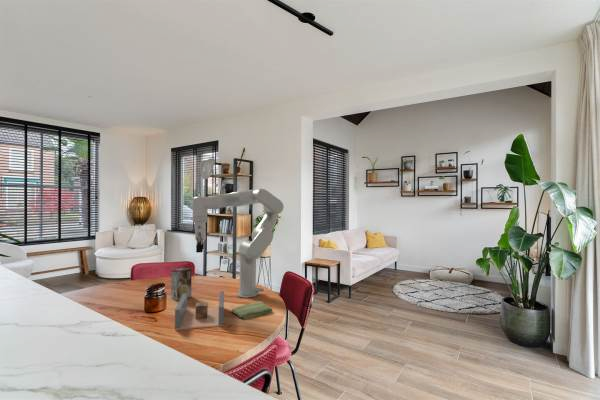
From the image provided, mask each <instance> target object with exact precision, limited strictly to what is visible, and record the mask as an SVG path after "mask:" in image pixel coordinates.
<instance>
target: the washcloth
mask: <svg viewBox="0 0 600 400" xmlns="http://www.w3.org/2000/svg"><path fill="white" fill-rule="evenodd" d="M231 312H232V313H234V314H235V315H236V316H237V317H239V318H241V319H243V320H246V319H251V318H254V317H258V316H263V315H266V314H270V313H272V312H273V308H272V307H271V306H268V305H266V304H265V303H264V302H262V300H261V301H260V300H258V301H256V302H252V303H248V304H244V305H243V304H242V305H239V306H235V307H233V308H232V309H231Z"/></svg>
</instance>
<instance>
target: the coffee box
mask: <svg viewBox="0 0 600 400" xmlns="http://www.w3.org/2000/svg"><path fill="white" fill-rule="evenodd" d="M170 271H171V272H170V273H171V274H170V278H171V279H170V281H171V282H170V284H171V285H170V289H171V290H170V294H171V295H170V298H171V299H172V300H173V301H180V299H181V296H182V294H185V293H187V299H188V298H191V297H192V268H188V267H180V268H176V269H171V270H170Z"/></svg>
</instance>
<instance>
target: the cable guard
mask: <svg viewBox="0 0 600 400" xmlns="http://www.w3.org/2000/svg"><path fill="white" fill-rule="evenodd" d="M218 300H219V301H218V307H208V315H207V318H206V319H195V315H196V308H190V309H189V308H188V298H187V293H185V294H182V296H181V299H180V300H178V303H177V305H176V307H175V309H174V330H175V331H180V330H191V329H192V330H193V329H204V328H205V329H207V328H217V327H224V318H225V317H224V315H225V314H224V311H225V291H219V299H218Z"/></svg>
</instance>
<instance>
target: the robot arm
mask: <svg viewBox="0 0 600 400" xmlns="http://www.w3.org/2000/svg"><path fill="white" fill-rule="evenodd" d="M254 204H261V205H262V206H263V207H262V208H263V213H264V215H263V217H262V219H261V221H260V222H259V223H258V224H257V225H256V226H255V228H254V229H253V230H252V232H251V239H252V241H251V240H244V241H242V242H241V243H240V244H239V246H238V247H239V248H238V256H239V280H238V281H239V288H238V289H239V291H236V296H237V297H238V298H244V299H245V298H246V299H248V298H255V297H257V296H258V295H259V292H264V287H257V285H256V284H257V259H259V258H260V257H262V255H263V253H264V252H266V250H267V249H268V247H269V246H270V245H271V243H272V242H273V239H274V233H273V231H272V230H273V229H274V227H275V226H276V225H277V222H278V215H279V214H281V213H282V212H283V210H284V208H285V207H284V206H285V205H284V203H283V201H282V200H280V199H279V198H278V197H276V196H275V195H273V194H272V193H271V192H269V190H266V189H264V188H256V189H255V188H254V189H248V190H241V191H233V192H230V193H225V194H224V193H223V194H217V195H210V196H193V198H192V223H194V237H195V238H194V239H195V241H196V245H195V246H196V248H195V250H196V251H195V252H196V253H203V251H204V248H205V247H204V246H205V244H204V243H205V242H204V241H206V239H207V236H206V235H207V231H206V229H207V227H206V223H208V210H213V211H217V210H219V209H221V208H227V207H230V208H231V207H243V206H248V205H249V206H250V205H254Z"/></svg>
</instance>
